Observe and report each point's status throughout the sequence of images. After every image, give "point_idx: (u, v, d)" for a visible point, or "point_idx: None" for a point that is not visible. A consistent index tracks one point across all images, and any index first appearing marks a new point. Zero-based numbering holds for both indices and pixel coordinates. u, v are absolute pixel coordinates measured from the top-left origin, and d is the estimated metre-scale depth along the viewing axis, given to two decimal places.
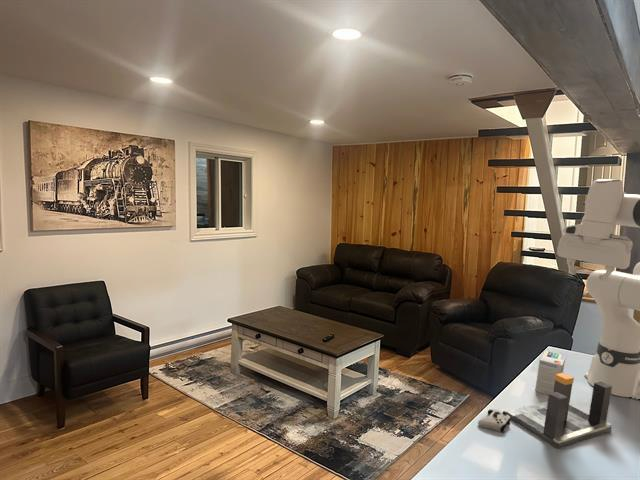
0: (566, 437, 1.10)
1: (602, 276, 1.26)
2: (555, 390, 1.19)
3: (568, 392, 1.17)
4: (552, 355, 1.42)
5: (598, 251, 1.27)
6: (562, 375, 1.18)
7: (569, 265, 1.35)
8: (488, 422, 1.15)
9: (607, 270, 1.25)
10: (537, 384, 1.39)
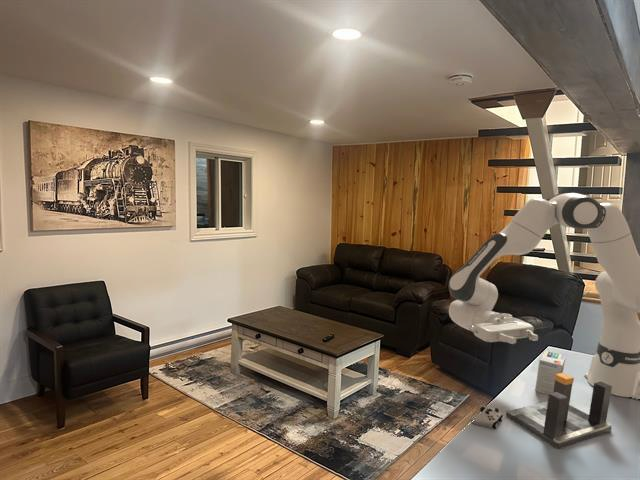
0: (566, 437, 1.10)
1: None
2: (555, 390, 1.19)
3: (568, 392, 1.17)
4: (552, 355, 1.42)
5: None
6: (562, 375, 1.18)
7: (530, 338, 1.34)
8: (480, 419, 1.16)
9: None
10: (537, 384, 1.39)
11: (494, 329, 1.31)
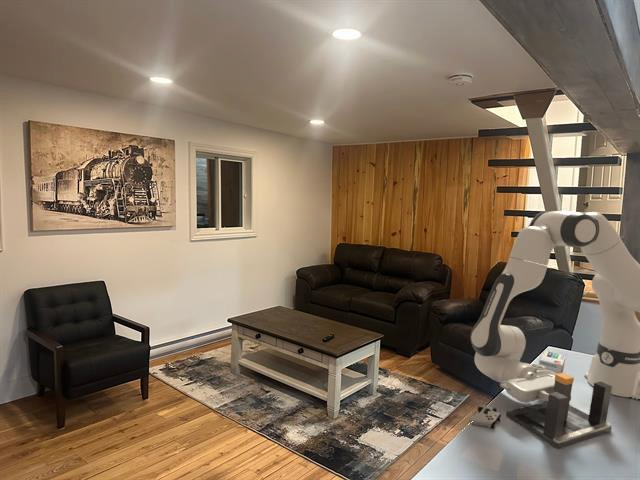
0: (566, 437, 1.10)
1: None
2: (555, 390, 1.19)
3: (568, 392, 1.17)
4: (552, 355, 1.42)
5: None
6: (562, 375, 1.18)
7: None
8: (479, 419, 1.16)
9: None
10: None
11: (529, 388, 1.20)
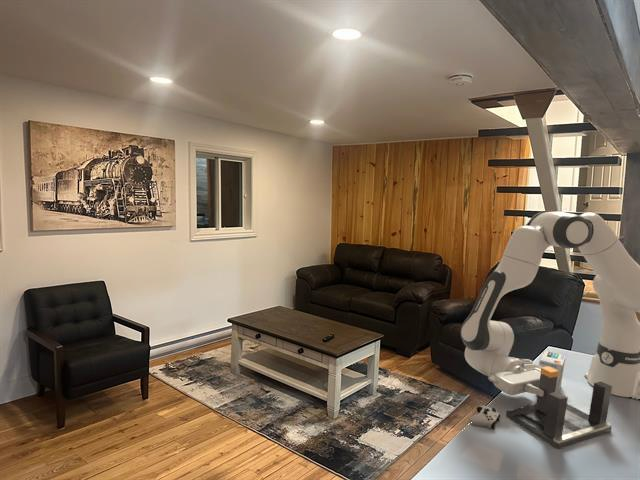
0: (566, 437, 1.10)
1: None
2: (540, 383, 1.23)
3: (553, 385, 1.21)
4: (552, 355, 1.42)
5: None
6: (547, 368, 1.22)
7: None
8: (479, 419, 1.16)
9: None
10: None
11: (516, 381, 1.24)
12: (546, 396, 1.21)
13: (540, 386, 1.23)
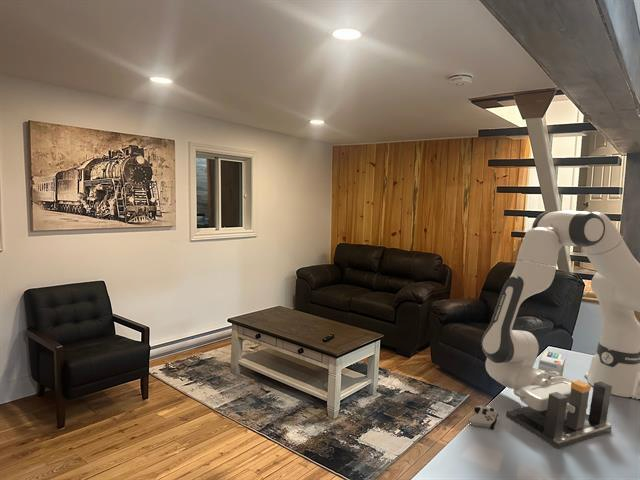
0: (566, 437, 1.10)
1: None
2: (571, 398, 1.15)
3: (585, 400, 1.13)
4: (552, 355, 1.42)
5: None
6: (579, 383, 1.14)
7: None
8: (478, 420, 1.15)
9: None
10: None
11: (544, 396, 1.16)
12: (577, 412, 1.13)
13: (570, 401, 1.15)
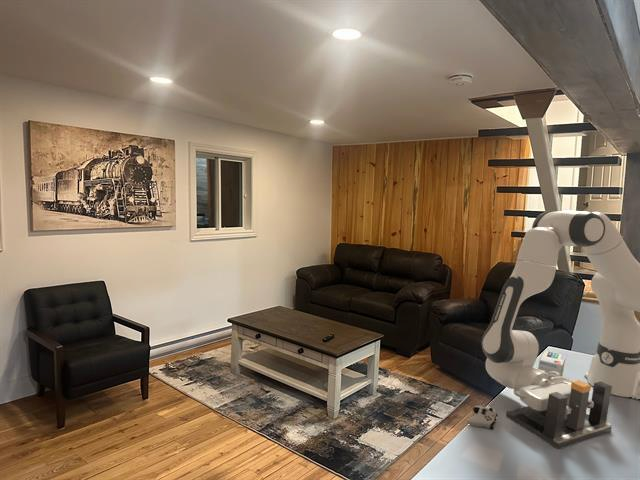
0: (566, 437, 1.10)
1: None
2: (571, 398, 1.15)
3: (585, 400, 1.13)
4: (552, 355, 1.42)
5: None
6: (579, 383, 1.14)
7: None
8: (478, 420, 1.15)
9: None
10: None
11: (544, 396, 1.16)
12: (577, 412, 1.13)
13: (571, 401, 1.15)
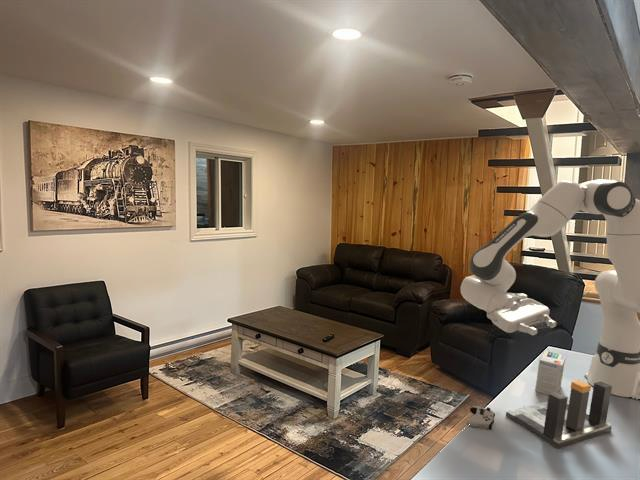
0: (566, 437, 1.10)
1: None
2: (571, 398, 1.15)
3: (585, 400, 1.13)
4: (552, 355, 1.42)
5: None
6: (579, 383, 1.14)
7: None
8: (477, 421, 1.15)
9: None
10: (537, 384, 1.39)
11: (514, 319, 1.26)
12: (577, 412, 1.13)
13: (571, 401, 1.15)
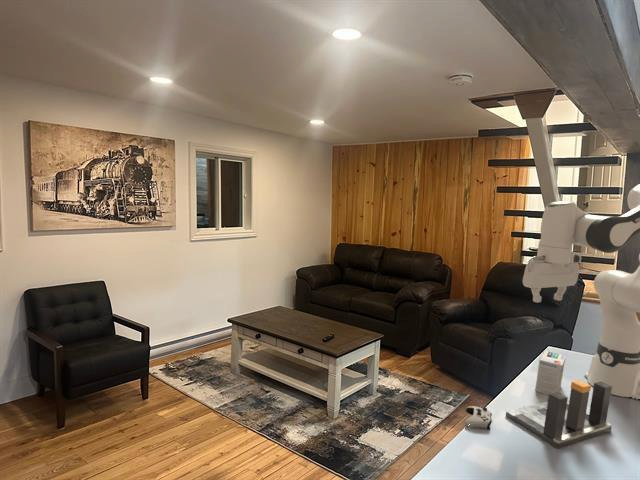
0: (566, 437, 1.10)
1: None
2: (571, 398, 1.15)
3: (585, 400, 1.13)
4: (552, 355, 1.42)
5: None
6: (579, 383, 1.14)
7: None
8: (475, 421, 1.15)
9: None
10: (537, 384, 1.39)
11: (540, 284, 1.25)
12: (577, 412, 1.13)
13: (571, 401, 1.15)
